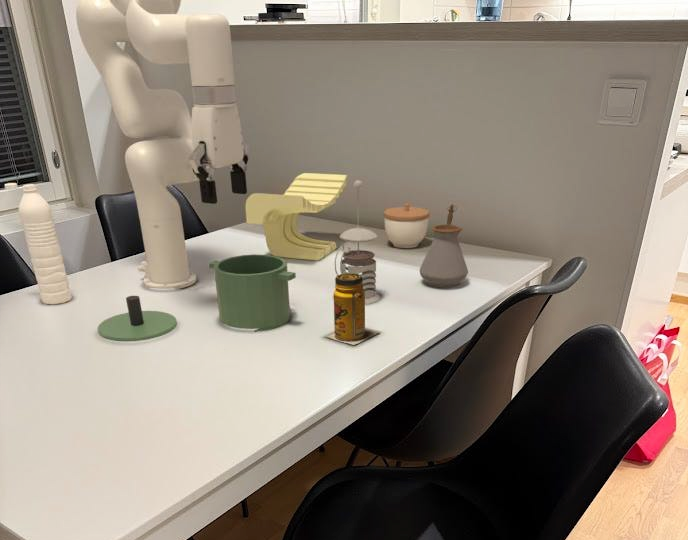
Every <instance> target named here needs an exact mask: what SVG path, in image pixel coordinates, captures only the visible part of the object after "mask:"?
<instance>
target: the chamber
mask: <svg viewBox="0 0 688 540" xmlns="http://www.w3.org/2000/svg"><path fill="white" fill-rule="evenodd" d="M208 268H209V269H213V271H214V281H215V288H216V297H217V298H216V299H217V307H218V314H219V320H220V322H221V323H222V324H224V325H226V326H228V327H232V328H236V329H243V330H244V329H245V330H254V332H260V331H268V330H271V329H272V330H273V329H277V328H279V327H281V326H283V325H285V324H287V323H288V322H289V321H290V318H291V316H290V315H291V309H290V292H289V290H290V289H289V282H290V281H292V280H294V279H296V278H297V276H296V275H297V274H296V272H292V271H288V262H287V261H286V260H285V259H284V258H283V257H277V256H274V255H269V254H241V255H235V256H230V257H227V258H223V259H221V260H213V261H211V262H208ZM255 329H256V330H255Z"/></svg>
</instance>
